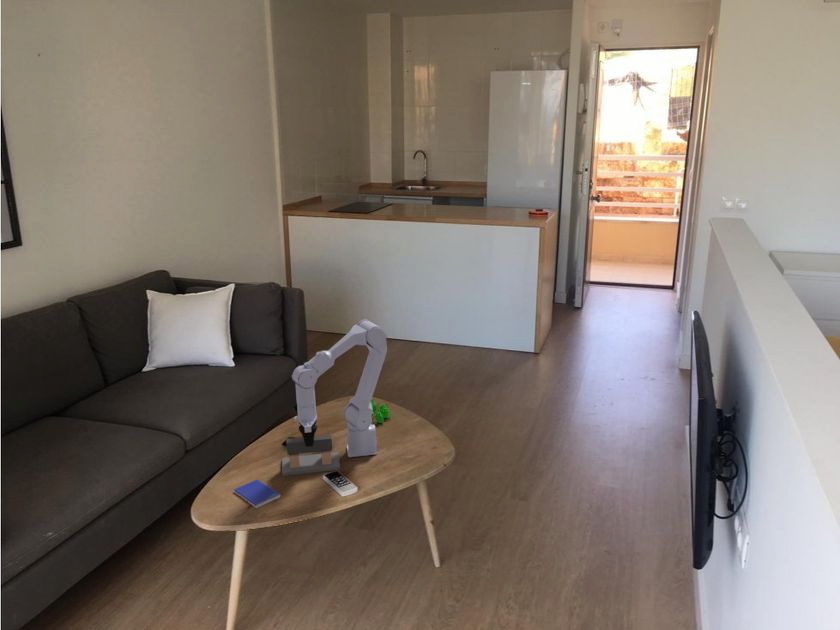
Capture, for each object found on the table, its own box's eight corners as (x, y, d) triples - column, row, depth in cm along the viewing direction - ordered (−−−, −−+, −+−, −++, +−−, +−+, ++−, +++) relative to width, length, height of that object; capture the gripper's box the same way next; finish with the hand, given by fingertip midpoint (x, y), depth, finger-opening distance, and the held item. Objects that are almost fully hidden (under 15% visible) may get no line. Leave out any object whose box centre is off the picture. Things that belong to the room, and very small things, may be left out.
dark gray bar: (331, 445, 213) (331, 434, 212) (332, 450, 210) (331, 438, 209) (287, 450, 211) (286, 438, 210) (287, 454, 208) (286, 443, 207)
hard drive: (280, 493, 194) (258, 478, 203) (256, 504, 189) (233, 489, 197) (280, 498, 195) (258, 483, 203) (256, 509, 189) (234, 493, 198)
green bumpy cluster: (343, 418, 246) (342, 400, 244) (376, 406, 255) (375, 390, 253) (366, 431, 235) (365, 413, 233) (399, 419, 244) (399, 401, 242)
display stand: (338, 454, 218) (337, 440, 217) (340, 469, 209) (339, 455, 207) (282, 460, 215) (281, 446, 214) (282, 476, 206) (280, 461, 204)
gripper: (293, 395, 212) (296, 434, 216) (293, 414, 199) (296, 455, 202) (315, 393, 213) (318, 432, 217) (316, 412, 200) (319, 453, 204)
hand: (309, 443), depth 210 cm, fingers closed on dark gray bar, 3 cm apart
